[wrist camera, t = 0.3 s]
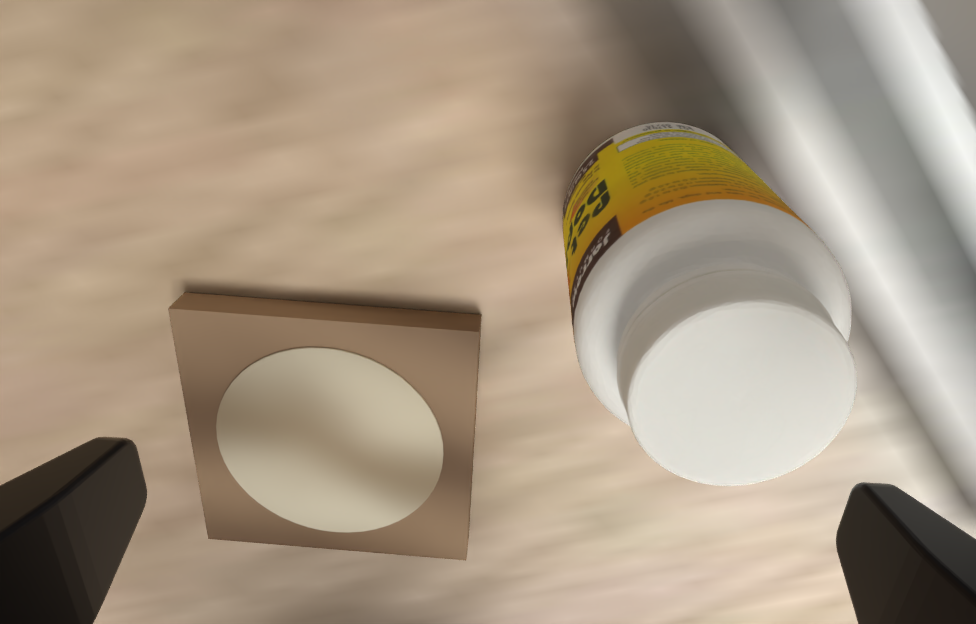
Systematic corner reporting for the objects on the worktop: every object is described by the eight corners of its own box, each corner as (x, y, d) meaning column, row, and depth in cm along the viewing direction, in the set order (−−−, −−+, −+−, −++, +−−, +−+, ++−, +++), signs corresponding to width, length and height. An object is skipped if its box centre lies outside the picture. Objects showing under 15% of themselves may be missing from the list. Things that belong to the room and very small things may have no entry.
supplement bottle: (568, 112, 20) (598, 242, 11) (763, 121, 20) (961, 261, 11) (553, 288, 23) (568, 512, 13) (726, 297, 22) (860, 531, 13)
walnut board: (468, 537, 28) (465, 562, 26) (220, 516, 28) (207, 540, 27) (481, 314, 23) (478, 333, 22) (184, 292, 23) (166, 309, 22)
